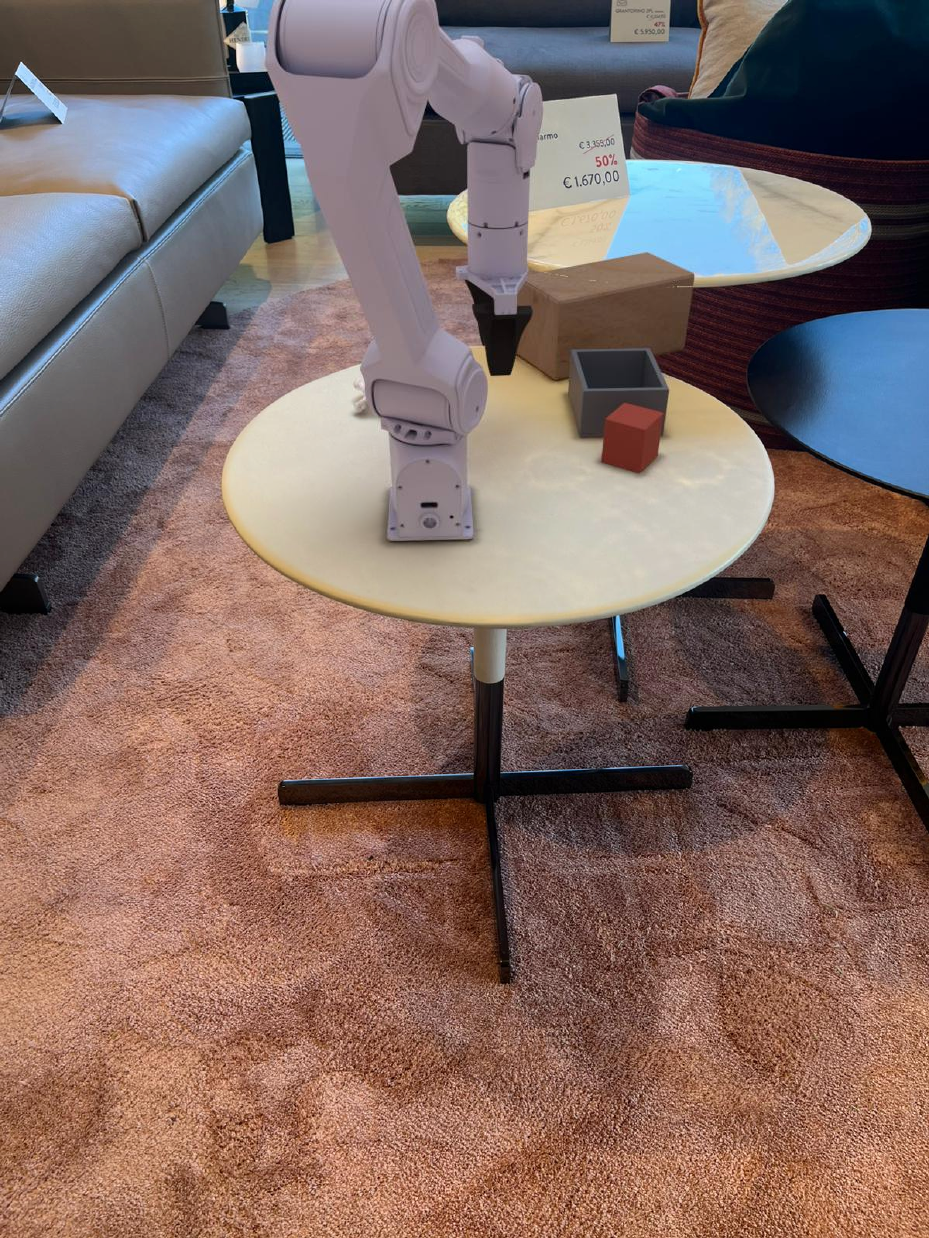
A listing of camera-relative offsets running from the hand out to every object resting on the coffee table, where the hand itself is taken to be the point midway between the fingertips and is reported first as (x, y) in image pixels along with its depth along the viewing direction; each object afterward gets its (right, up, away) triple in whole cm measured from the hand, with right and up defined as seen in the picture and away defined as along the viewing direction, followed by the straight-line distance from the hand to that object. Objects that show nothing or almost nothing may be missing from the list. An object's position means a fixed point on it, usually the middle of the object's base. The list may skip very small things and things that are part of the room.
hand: (495, 359), depth 95 cm
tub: (+14, -3, +11) cm, 18 cm away
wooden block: (+5, +9, +18) cm, 21 cm away
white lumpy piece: (-12, -2, +13) cm, 18 cm away
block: (+14, -10, +3) cm, 18 cm away
